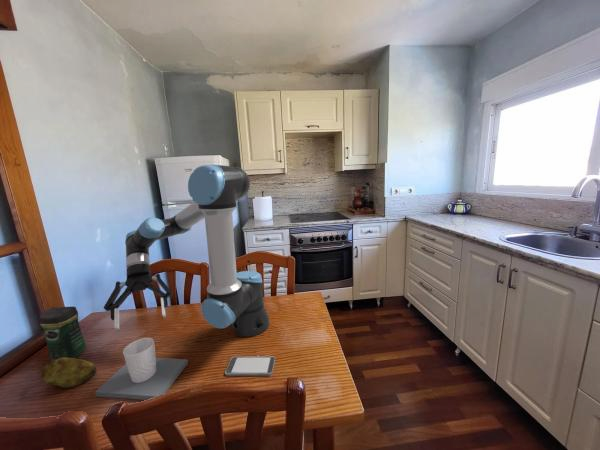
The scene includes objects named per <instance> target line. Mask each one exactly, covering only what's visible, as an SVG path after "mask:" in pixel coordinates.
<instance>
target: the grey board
mask: <svg viewBox="0 0 600 450" xmlns="http://www.w3.org/2000/svg"><path fill="white" fill-rule="evenodd" d="M188 364H189V363H188V359H187V358H186V359H184V358H183V359H182V358H168V357H167V358H166V357H164V358H163V357H156V372H155V374H154V375H153V376H152V377H151V378H150V379H148V380H146V381H144V382H140V383H134V382H133V381H132V380H131V377H130V374H129V372H128V368H127V365H126V363H125V364H124V365H123V366H122V367H121V368H119V369H117V371H116V372H115V373H114V374H113V375H112V376H111V377H110V378H108V380H107V381H105V382H104V383H103V384H102V385H101V386H100V387H99V388H97V390H95V392H94V393H95V396H96V397H99V398H101V397H102V398H111V399H112V398H115V399H126V398H130V400H139V401H140V400H143V401H148V400H147V399H150V398H153V397H156V396H159V395H163V394H164V395H166V393H167V392H168V390H170V388H171V386H172V385H173V384H174V382H176V380H177V378H178V377H179V376H180V375H181V374H182V372H183V371H184V369H185V368H186V367H187V365H188Z"/></svg>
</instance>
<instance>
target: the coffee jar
mask: <svg viewBox="0 0 600 450" xmlns="http://www.w3.org/2000/svg"><path fill="white" fill-rule="evenodd" d="M38 318H39V325H40V327H41V329H42V330H43V333H44V337H45V341H46V346H47V352H48V355H49V356H48V357H49V360H50V362H51V361H52V360H55V359H58V358H62V357H67V358H78V357H79V356H81V355H82V354H83V353H84V352H85V351H86V350H87V344H86V342H85V337H84V335H83V333H82V329H81V326H80V322H79V311H78V310H77V306H58V307H54V306H53V307H50V308H49V309H46V310H44V311H43V312H41V313H40V315H39V317H38Z"/></svg>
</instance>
